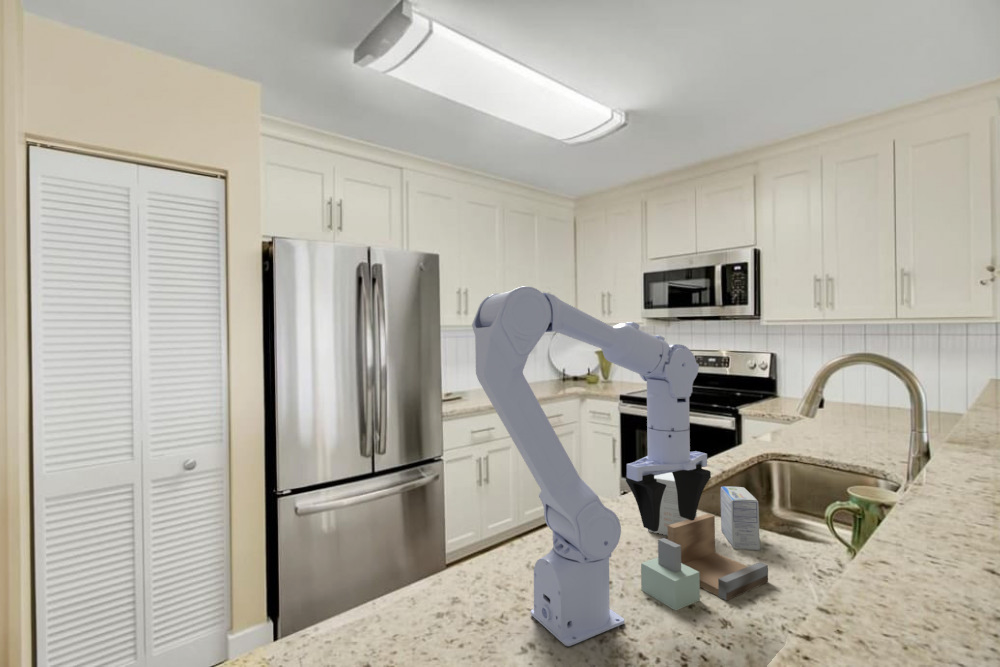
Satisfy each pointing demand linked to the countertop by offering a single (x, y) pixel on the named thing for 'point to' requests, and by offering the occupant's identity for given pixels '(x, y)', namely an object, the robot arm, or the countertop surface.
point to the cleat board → (714, 559)
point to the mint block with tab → (670, 577)
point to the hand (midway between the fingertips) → (669, 523)
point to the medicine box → (740, 518)
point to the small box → (668, 504)
